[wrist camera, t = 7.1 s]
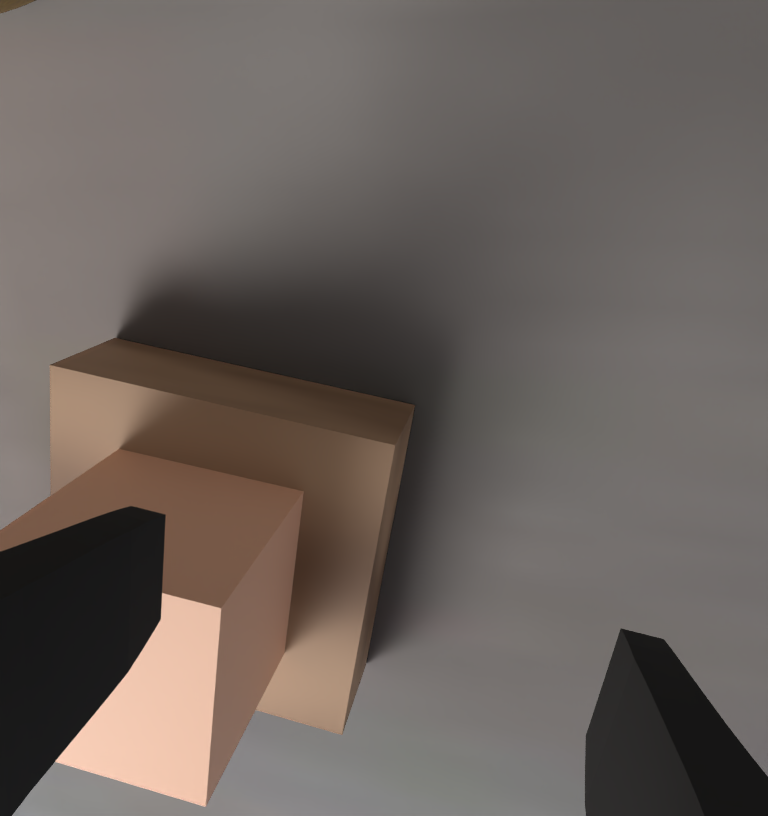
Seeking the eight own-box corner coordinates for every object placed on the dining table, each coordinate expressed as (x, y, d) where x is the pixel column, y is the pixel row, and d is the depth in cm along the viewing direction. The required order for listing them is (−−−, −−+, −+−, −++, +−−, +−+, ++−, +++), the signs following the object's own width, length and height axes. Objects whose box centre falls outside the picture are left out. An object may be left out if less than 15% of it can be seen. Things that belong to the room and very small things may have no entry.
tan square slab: (365, 665, 23) (341, 734, 20) (107, 593, 24) (51, 650, 21) (415, 405, 20) (395, 445, 17) (115, 338, 21) (49, 364, 18)
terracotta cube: (284, 653, 19) (205, 806, 15) (116, 608, 20) (-9, 742, 15) (303, 491, 18) (221, 608, 13) (119, 448, 18) (-22, 545, 14)
